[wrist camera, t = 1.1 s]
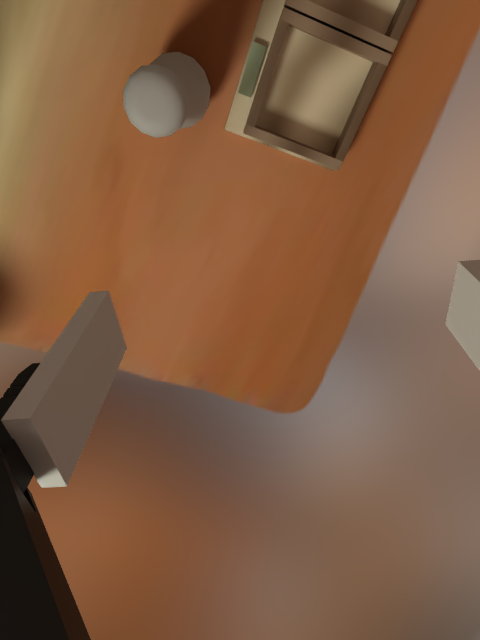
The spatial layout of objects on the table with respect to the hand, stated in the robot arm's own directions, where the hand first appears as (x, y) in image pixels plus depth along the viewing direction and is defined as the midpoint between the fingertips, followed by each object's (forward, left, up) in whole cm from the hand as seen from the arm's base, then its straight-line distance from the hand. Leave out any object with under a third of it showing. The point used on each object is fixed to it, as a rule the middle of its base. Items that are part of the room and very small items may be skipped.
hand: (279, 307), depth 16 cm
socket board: (+2, +11, -29) cm, 31 cm away
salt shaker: (-9, +3, -29) cm, 31 cm away
